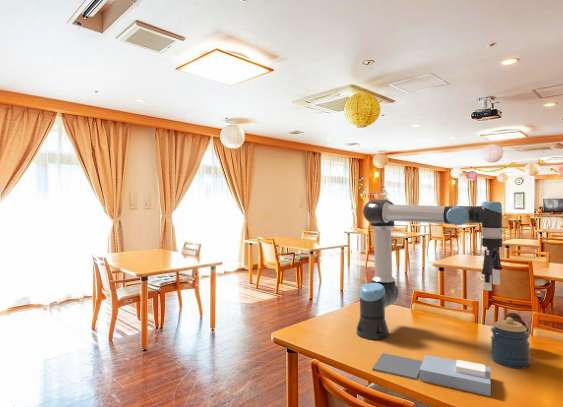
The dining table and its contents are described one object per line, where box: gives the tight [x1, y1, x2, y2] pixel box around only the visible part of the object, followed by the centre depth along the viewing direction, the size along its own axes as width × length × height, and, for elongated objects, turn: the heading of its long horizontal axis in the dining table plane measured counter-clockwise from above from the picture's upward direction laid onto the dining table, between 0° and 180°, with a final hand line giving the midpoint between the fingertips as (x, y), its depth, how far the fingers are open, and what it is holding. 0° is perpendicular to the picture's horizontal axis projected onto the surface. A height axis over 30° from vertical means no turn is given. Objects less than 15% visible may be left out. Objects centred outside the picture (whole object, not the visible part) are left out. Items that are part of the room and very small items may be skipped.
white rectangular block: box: [456, 359, 486, 378], centre depth 128 cm, size 9×6×2 cm, turn 61°
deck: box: [418, 354, 492, 397], centre depth 130 cm, size 22×14×4 cm, turn 61°
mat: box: [371, 352, 423, 380], centre depth 141 cm, size 16×16×1 cm
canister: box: [490, 317, 531, 369], centre depth 144 cm, size 13×13×18 cm
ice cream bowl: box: [502, 312, 529, 334], centre depth 157 cm, size 11×11×15 cm
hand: (492, 287), depth 155 cm, fingers open, 13 cm apart
